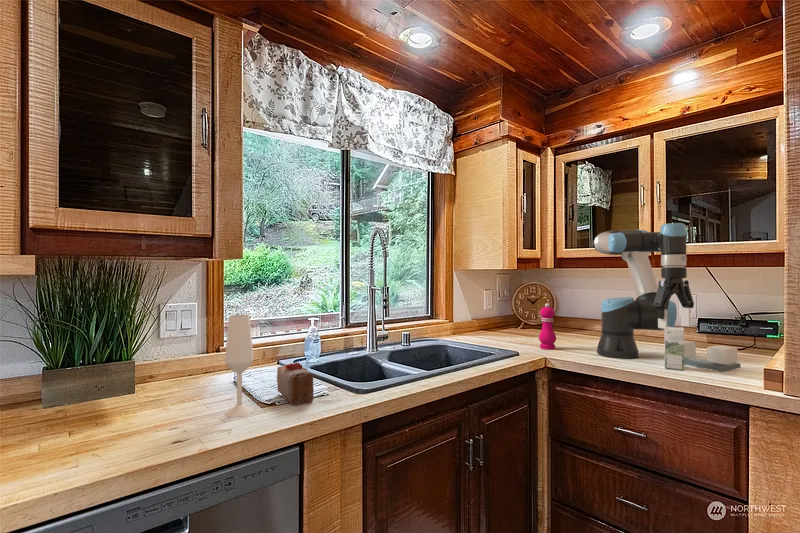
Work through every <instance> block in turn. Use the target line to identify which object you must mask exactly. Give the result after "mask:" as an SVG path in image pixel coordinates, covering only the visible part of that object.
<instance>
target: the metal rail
mask: <svg viewBox="0 0 800 533" xmlns="http://www.w3.org/2000/svg"><path fill="white" fill-rule="evenodd" d="M684 358H685V359H690V360H696V361H701V362H707V363H712V364H718V365H723V366H731V365H735V363H736V362H735V363H730V364H720V363H715V362H709V361H707V356H702V355H701V356H700V355H692V356H686V357H684Z"/></svg>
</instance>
